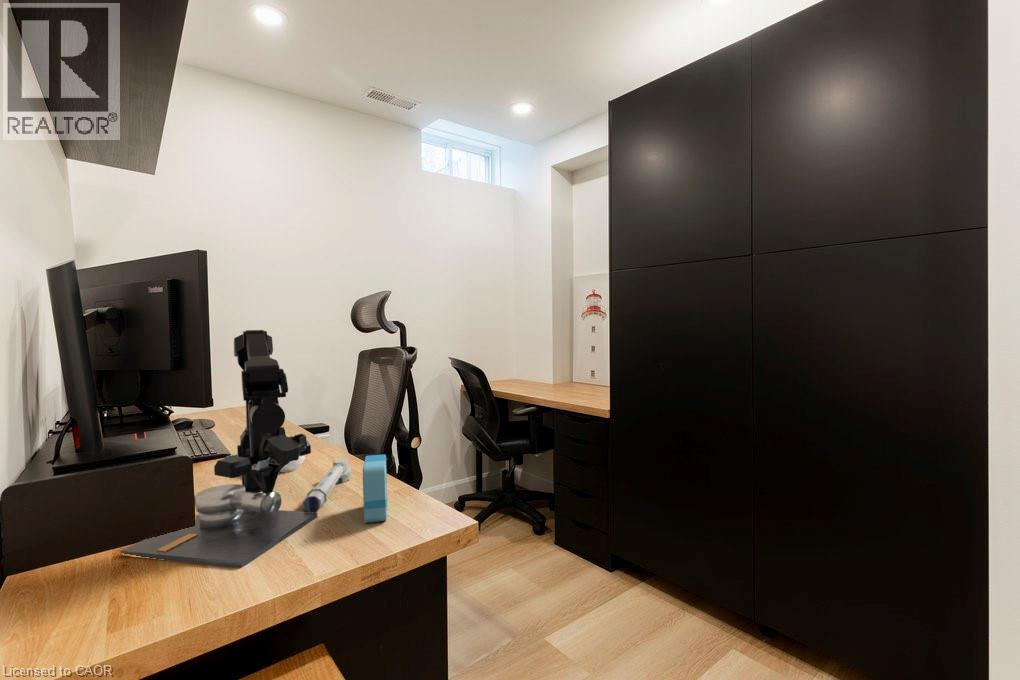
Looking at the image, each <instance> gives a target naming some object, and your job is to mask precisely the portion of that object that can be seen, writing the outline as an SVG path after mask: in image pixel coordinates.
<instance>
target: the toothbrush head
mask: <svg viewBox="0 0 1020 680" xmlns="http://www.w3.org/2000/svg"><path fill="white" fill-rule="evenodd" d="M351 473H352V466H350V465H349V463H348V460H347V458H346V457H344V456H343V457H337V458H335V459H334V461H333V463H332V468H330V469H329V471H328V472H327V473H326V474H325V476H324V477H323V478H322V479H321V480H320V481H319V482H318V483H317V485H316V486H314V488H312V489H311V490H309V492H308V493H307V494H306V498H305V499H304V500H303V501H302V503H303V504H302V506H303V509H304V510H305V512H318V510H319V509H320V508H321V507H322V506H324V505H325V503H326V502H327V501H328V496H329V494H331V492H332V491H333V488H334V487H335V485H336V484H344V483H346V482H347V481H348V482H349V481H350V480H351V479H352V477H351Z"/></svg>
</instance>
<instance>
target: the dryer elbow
mask: <svg viewBox="0 0 1020 680" xmlns="http://www.w3.org/2000/svg"><path fill="white" fill-rule="evenodd" d="M281 506H282V496H281V494H280V492H278V491H273V492H268V493H267V494H265V493H263V492H249V491H245V486H244V485H242V484H237V483H235V484H234V483H233V484H232V483H229V484H223V485H222V484H221V485H216V486H212V487H209V488H206V489H203V490H201V491H199V492H198V493H196V494H195V511H196V512H197V513H198V514H199V513H203V514H211V513H219V512H224V511H228V510H232V509H239V510H248V511H257V512H262V514H264V515H269V516H271V515H274V514H275V513H276V512H277V511H278V510H280V508H281Z"/></svg>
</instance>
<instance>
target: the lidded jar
mask: <svg viewBox="0 0 1020 680" xmlns="http://www.w3.org/2000/svg"><path fill="white" fill-rule="evenodd" d="M305 458H306V455H304V456H299V459H298V460H296V461H295V460H294V461H291V462H289V463H288V464H287V465H285V466H284V467H283V468H282V469H281V470H280V472H279V473H289V472H294V471H297V470H298V469H299V467H300V466H301V465H302V464H303V462H304V460H305Z"/></svg>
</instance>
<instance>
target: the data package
mask: <svg viewBox="0 0 1020 680" xmlns="http://www.w3.org/2000/svg"><path fill="white" fill-rule="evenodd" d="M387 481H388V477H387V455H386V454H373V455H371V454H370V455H366V456H365V458H364V462H363V467H362V496H363V497H362V498H363V500H362V501H363V521H364V523H365V524H368V523H369V524H370V523H377V522H378V523H379V522H385V521H387V517H388V516H387V515H388V482H387Z"/></svg>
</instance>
